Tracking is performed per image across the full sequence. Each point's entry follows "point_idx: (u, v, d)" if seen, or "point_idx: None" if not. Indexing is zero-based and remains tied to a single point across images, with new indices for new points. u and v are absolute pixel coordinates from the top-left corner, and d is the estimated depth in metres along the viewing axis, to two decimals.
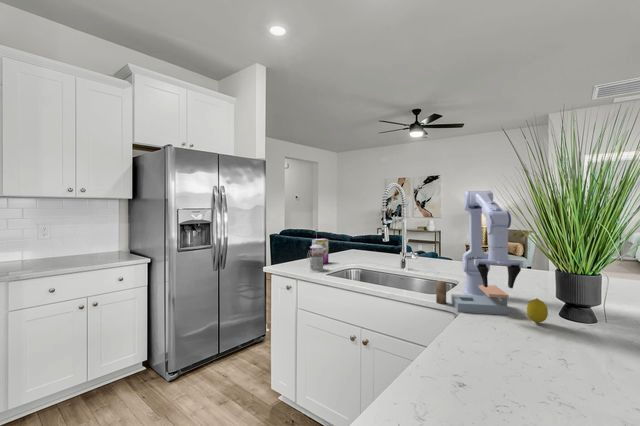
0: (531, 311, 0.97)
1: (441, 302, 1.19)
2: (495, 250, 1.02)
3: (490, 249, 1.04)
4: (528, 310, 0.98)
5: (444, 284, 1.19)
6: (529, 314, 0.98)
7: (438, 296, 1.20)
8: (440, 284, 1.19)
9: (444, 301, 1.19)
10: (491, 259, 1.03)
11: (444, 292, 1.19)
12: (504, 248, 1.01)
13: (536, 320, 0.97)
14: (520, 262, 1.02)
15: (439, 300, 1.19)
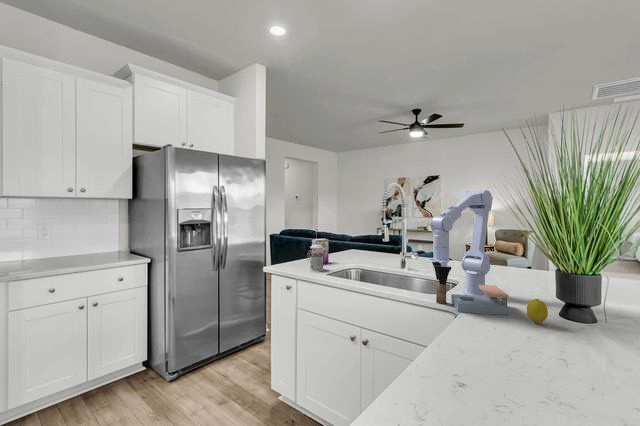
0: (531, 311, 0.97)
1: (441, 302, 1.19)
2: None
3: None
4: (528, 310, 0.98)
5: None
6: (529, 314, 0.98)
7: (438, 296, 1.20)
8: None
9: (444, 301, 1.19)
10: None
11: (444, 292, 1.19)
12: (434, 247, 1.20)
13: (536, 320, 0.97)
14: (441, 262, 1.14)
15: (439, 300, 1.19)
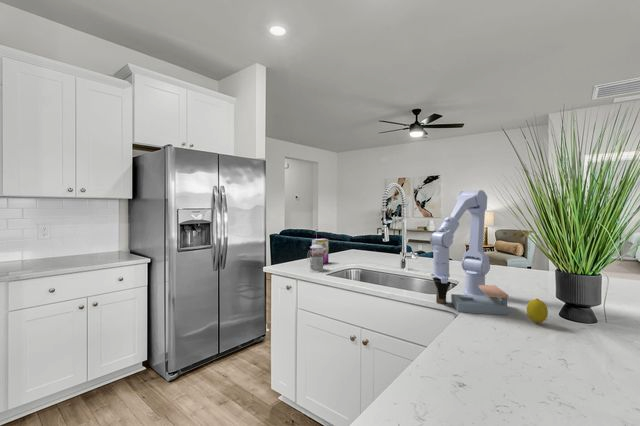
0: (531, 311, 0.97)
1: (441, 302, 1.19)
2: None
3: None
4: (528, 310, 0.98)
5: None
6: (529, 314, 0.98)
7: (438, 296, 1.20)
8: None
9: (444, 301, 1.19)
10: None
11: None
12: (434, 263, 1.20)
13: (536, 320, 0.97)
14: (441, 278, 1.14)
15: (439, 300, 1.19)
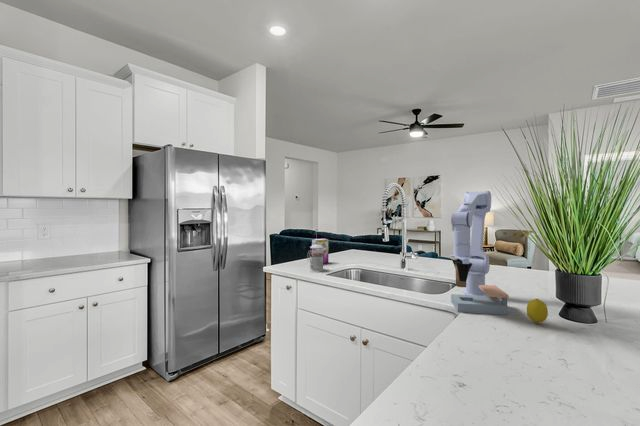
0: (531, 311, 0.97)
1: (461, 285, 1.14)
2: None
3: None
4: (528, 310, 0.98)
5: None
6: (529, 314, 0.98)
7: (457, 279, 1.15)
8: None
9: (464, 284, 1.14)
10: None
11: None
12: (454, 244, 1.15)
13: (536, 320, 0.97)
14: (462, 259, 1.10)
15: (459, 283, 1.15)
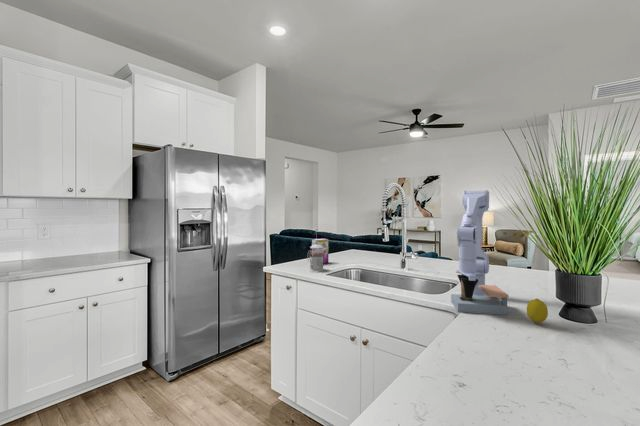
0: (531, 311, 0.97)
1: None
2: None
3: None
4: (528, 310, 0.98)
5: None
6: (529, 314, 0.98)
7: (463, 295, 1.14)
8: None
9: (470, 300, 1.13)
10: None
11: None
12: (460, 260, 1.14)
13: (536, 320, 0.97)
14: (468, 276, 1.09)
15: (464, 299, 1.14)
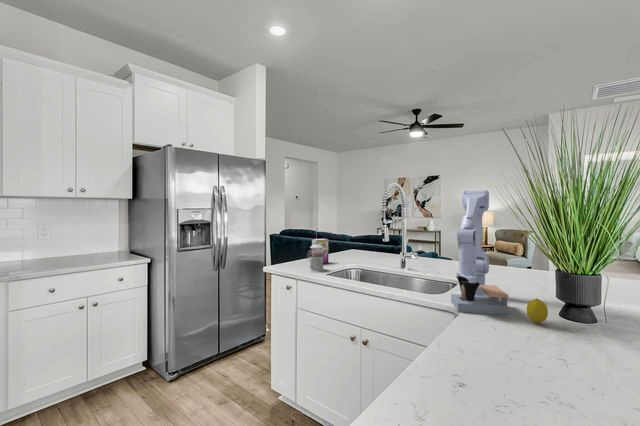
0: (531, 311, 0.97)
1: None
2: None
3: None
4: (528, 310, 0.98)
5: None
6: (529, 314, 0.98)
7: (463, 300, 1.14)
8: None
9: None
10: None
11: None
12: (460, 262, 1.14)
13: (536, 320, 0.97)
14: (468, 278, 1.09)
15: None
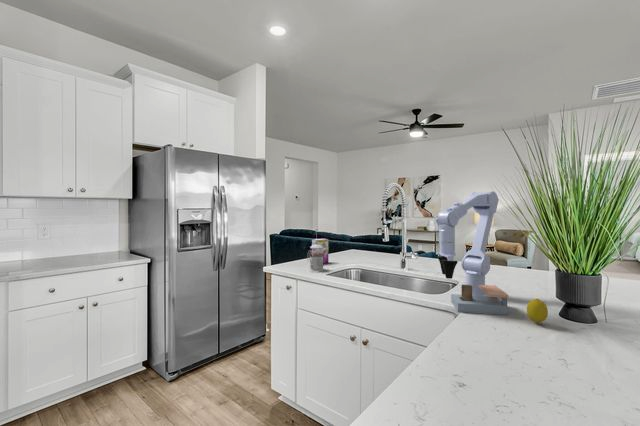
0: (531, 311, 0.97)
1: None
2: None
3: None
4: (528, 310, 0.98)
5: (470, 288, 1.13)
6: (529, 314, 0.98)
7: (463, 300, 1.14)
8: (466, 288, 1.13)
9: None
10: None
11: (470, 296, 1.13)
12: (440, 242, 1.21)
13: (536, 320, 0.97)
14: (447, 256, 1.16)
15: None
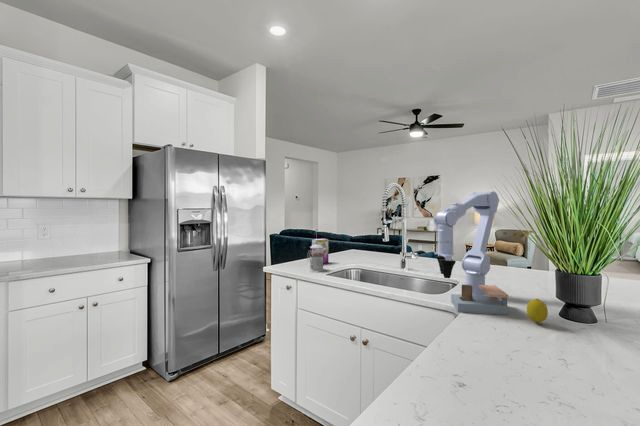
0: (531, 311, 0.97)
1: None
2: None
3: None
4: (528, 310, 0.98)
5: (470, 288, 1.13)
6: (529, 314, 0.98)
7: (463, 300, 1.14)
8: (466, 288, 1.13)
9: None
10: None
11: (470, 296, 1.13)
12: (438, 242, 1.22)
13: (536, 320, 0.97)
14: (445, 256, 1.17)
15: None
